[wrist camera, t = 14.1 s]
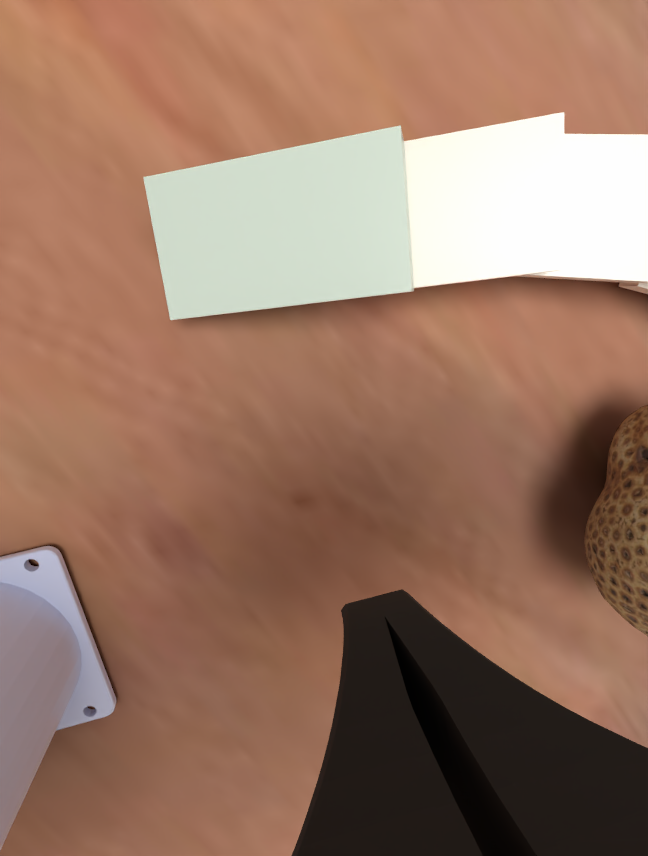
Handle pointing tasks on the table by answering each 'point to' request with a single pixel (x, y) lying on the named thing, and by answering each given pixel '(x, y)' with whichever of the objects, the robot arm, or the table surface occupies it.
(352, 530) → the table surface
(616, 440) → the natural sponge
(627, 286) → the domino
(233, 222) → the domino
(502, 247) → the domino
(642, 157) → the domino
